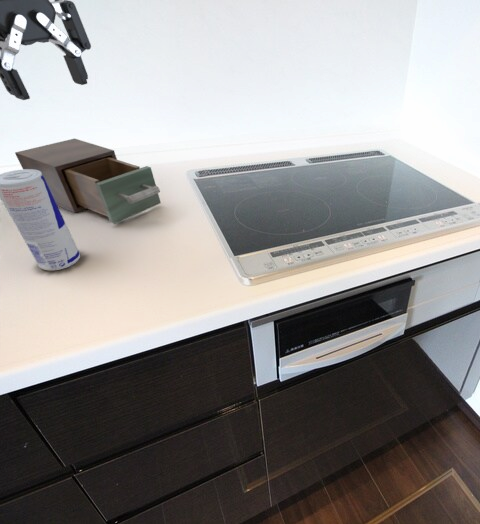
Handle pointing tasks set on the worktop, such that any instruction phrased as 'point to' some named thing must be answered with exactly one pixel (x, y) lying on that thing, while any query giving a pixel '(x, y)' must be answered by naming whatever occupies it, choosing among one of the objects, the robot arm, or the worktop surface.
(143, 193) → the drawer
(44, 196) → the beverage can
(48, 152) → the cabinet
